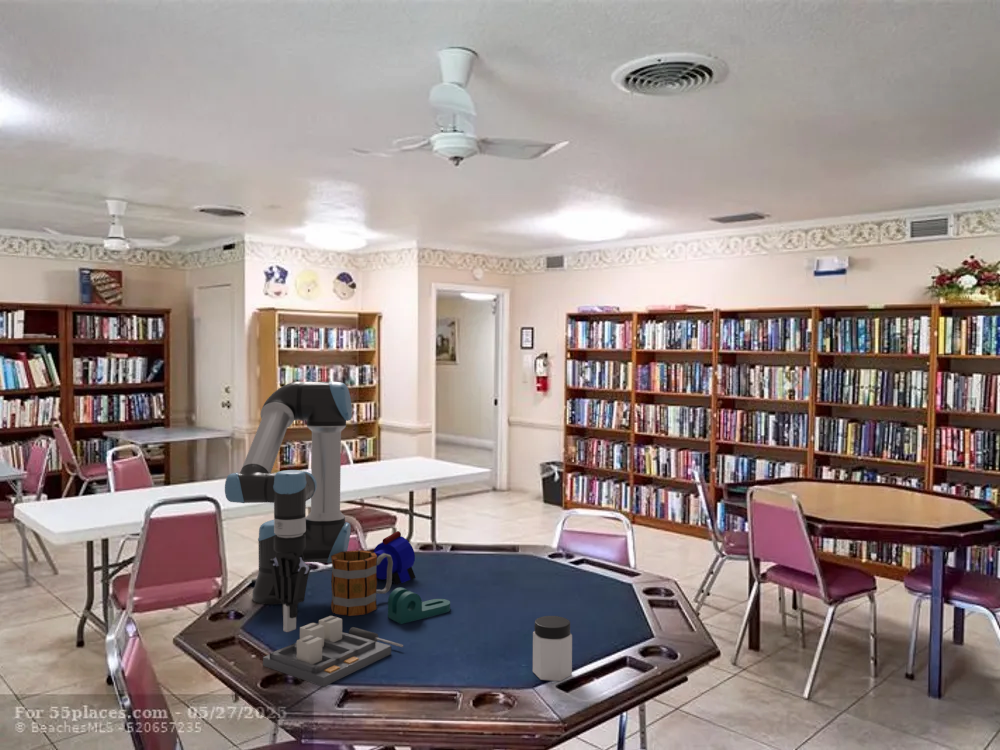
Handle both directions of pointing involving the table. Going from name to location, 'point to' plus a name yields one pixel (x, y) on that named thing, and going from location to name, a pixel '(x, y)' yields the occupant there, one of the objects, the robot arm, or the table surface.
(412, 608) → the bracket
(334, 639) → the small white box
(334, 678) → the switch bank
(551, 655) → the jar
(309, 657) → the small white box
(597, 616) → the table surface
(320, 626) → the white grooved block
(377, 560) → the mug
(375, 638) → the screwdriver
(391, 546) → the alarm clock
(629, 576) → the table surface
